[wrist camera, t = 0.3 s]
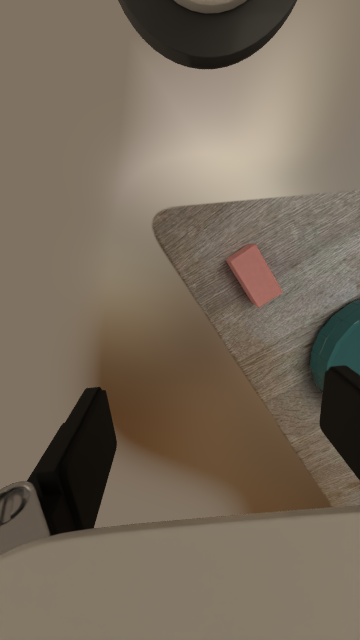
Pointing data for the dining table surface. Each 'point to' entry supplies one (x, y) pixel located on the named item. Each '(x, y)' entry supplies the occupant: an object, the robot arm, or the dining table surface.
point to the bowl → (337, 343)
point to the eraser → (254, 275)
